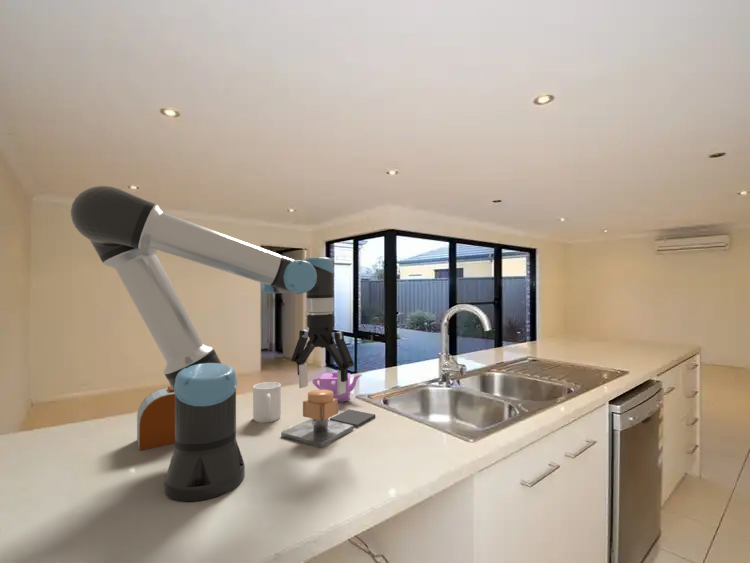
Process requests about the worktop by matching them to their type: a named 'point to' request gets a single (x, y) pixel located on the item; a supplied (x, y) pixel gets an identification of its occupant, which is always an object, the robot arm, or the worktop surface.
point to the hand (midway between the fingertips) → (321, 390)
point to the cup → (266, 402)
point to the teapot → (335, 385)
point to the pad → (353, 417)
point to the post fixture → (317, 432)
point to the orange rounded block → (156, 419)
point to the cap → (320, 405)
